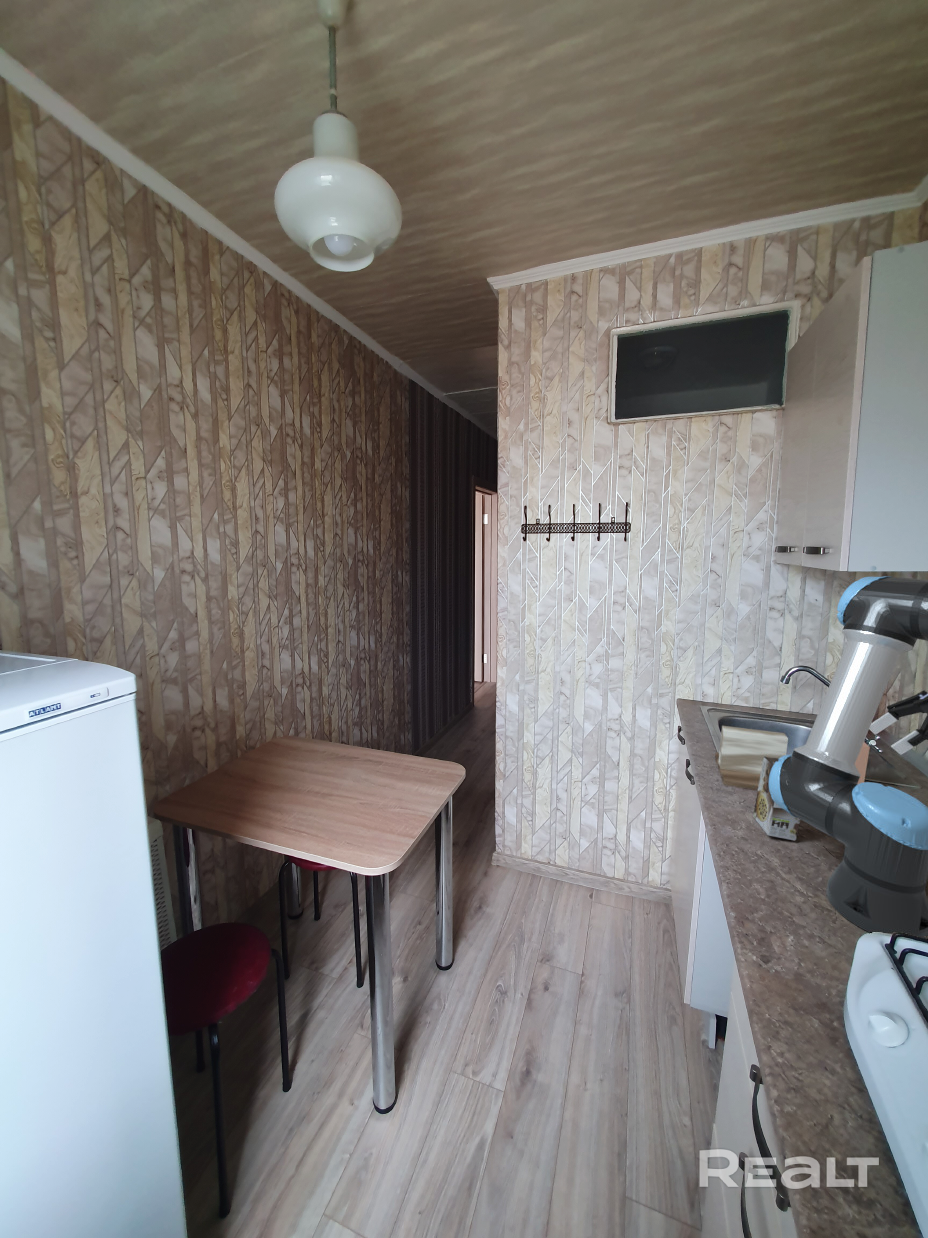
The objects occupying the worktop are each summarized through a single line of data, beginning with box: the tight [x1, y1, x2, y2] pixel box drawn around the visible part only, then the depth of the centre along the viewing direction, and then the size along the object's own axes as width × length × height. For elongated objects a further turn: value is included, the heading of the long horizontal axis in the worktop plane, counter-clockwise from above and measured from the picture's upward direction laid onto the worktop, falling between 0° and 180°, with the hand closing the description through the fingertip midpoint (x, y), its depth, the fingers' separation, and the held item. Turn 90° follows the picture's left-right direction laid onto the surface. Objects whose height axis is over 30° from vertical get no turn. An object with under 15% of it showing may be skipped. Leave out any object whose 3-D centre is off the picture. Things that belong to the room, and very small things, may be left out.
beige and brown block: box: [714, 725, 789, 791], centre depth 137 cm, size 18×26×14 cm
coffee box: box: [752, 757, 801, 842], centre depth 113 cm, size 9×6×16 cm
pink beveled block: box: [855, 741, 871, 785], centre depth 131 cm, size 4×8×12 cm, turn 69°
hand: (882, 740), depth 126 cm, fingers open, 13 cm apart
